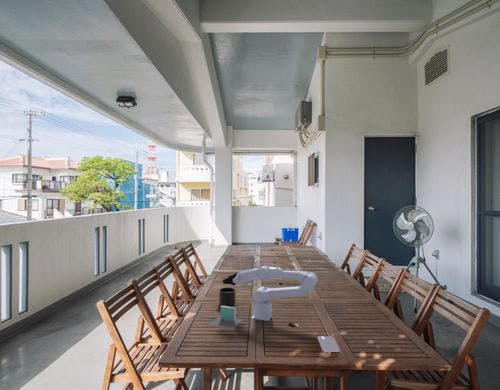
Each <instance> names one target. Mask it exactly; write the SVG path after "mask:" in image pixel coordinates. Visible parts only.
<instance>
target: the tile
mask: <svg viewBox="0 0 500 390" xmlns="http://www.w3.org/2000/svg"><path fill="white" fill-rule="evenodd" d="M236 311H237V308H236V306H232V307H228V306H220V316H221V320H227V321H234V322H235V321H236V319H237V318H236V317H237V316H236Z"/></svg>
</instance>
